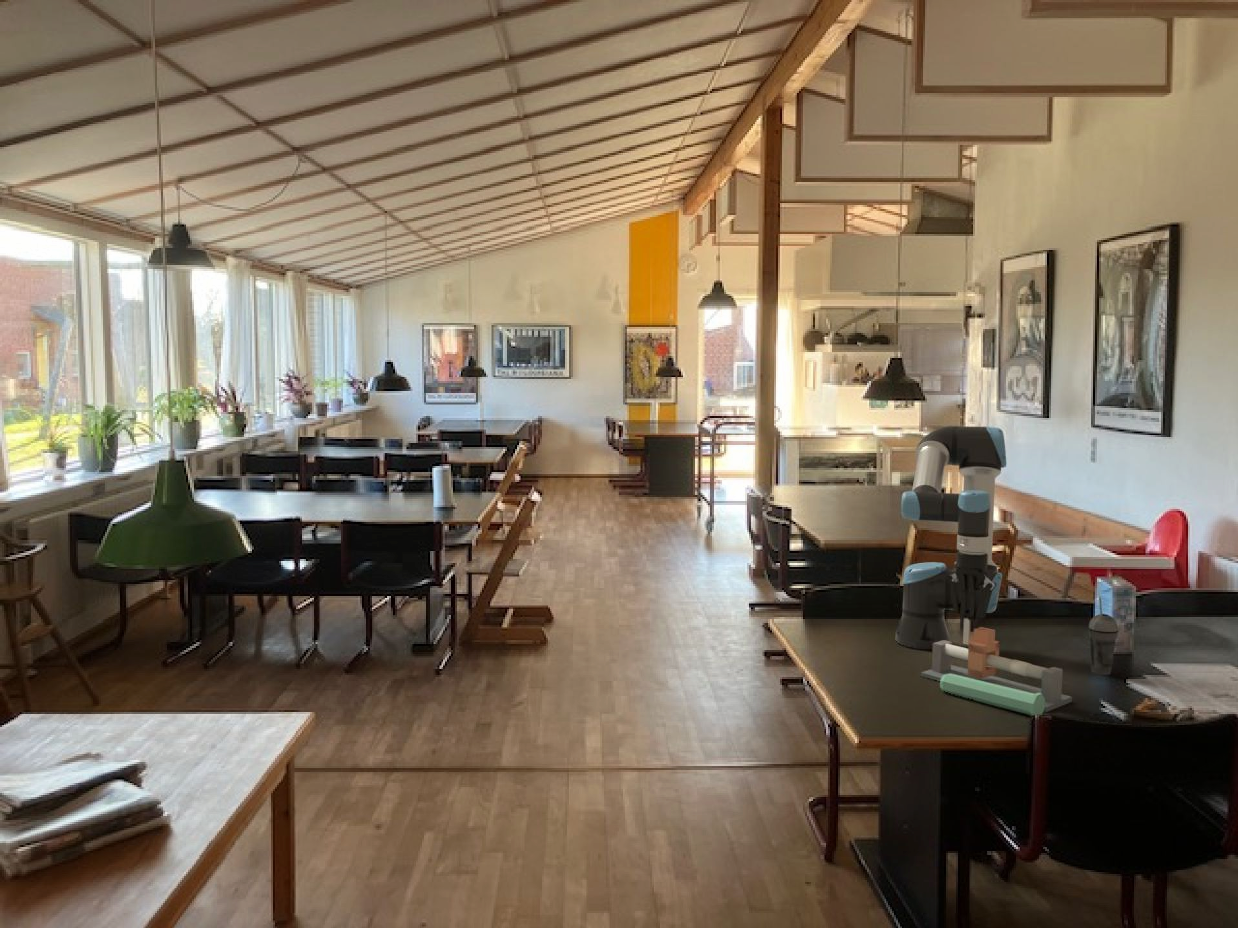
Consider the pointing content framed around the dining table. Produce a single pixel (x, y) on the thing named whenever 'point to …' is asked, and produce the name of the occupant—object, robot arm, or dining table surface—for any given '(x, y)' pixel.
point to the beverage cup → (1102, 642)
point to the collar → (982, 653)
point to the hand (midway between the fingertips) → (968, 643)
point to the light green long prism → (993, 694)
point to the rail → (998, 682)
